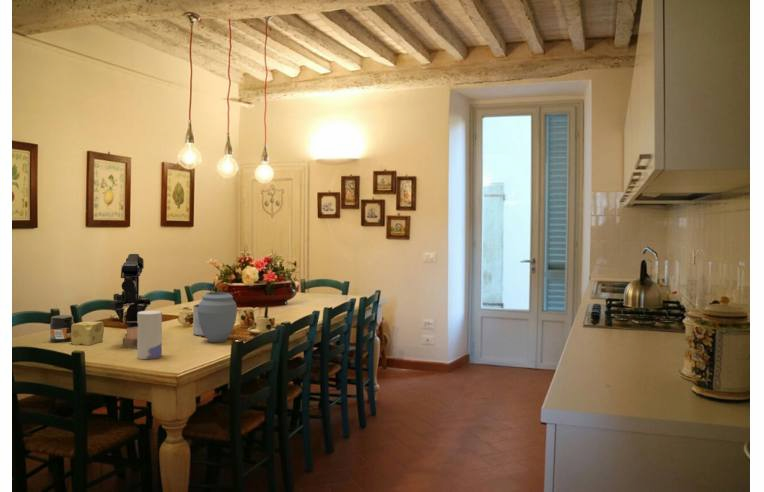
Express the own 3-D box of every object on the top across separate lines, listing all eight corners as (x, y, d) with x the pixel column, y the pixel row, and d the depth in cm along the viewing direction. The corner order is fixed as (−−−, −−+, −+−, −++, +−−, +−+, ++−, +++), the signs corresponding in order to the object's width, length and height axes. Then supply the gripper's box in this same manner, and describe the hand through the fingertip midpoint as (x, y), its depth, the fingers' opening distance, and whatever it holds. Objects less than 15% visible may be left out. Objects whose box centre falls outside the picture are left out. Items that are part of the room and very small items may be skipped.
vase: (244, 339, 295) (245, 292, 294) (222, 346, 276) (222, 296, 275) (212, 336, 301) (213, 290, 300) (188, 342, 283) (189, 294, 282)
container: (141, 354, 257) (141, 310, 256) (164, 354, 258) (164, 310, 257) (133, 359, 247) (134, 313, 246) (157, 359, 248) (157, 313, 247)
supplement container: (57, 343, 275) (57, 319, 274) (45, 340, 280) (45, 316, 280) (78, 340, 284) (78, 316, 283) (67, 337, 289) (67, 314, 289)
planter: (186, 335, 302) (186, 306, 301) (206, 330, 317) (206, 302, 316) (210, 338, 296) (211, 308, 295) (230, 332, 311) (230, 304, 310)
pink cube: (136, 336, 276) (136, 326, 276) (142, 338, 273) (142, 327, 273) (126, 338, 272) (126, 327, 272) (132, 339, 269) (132, 329, 269)
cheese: (89, 345, 272) (89, 325, 272) (69, 344, 274) (69, 323, 274) (104, 341, 282) (104, 321, 282) (85, 340, 284) (85, 320, 284)
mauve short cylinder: (139, 344, 278) (139, 335, 278) (146, 347, 273) (146, 338, 273) (122, 346, 273) (122, 337, 273) (129, 349, 267) (129, 340, 267)
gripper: (138, 285, 287) (137, 316, 288) (102, 289, 272) (102, 321, 273) (151, 287, 281) (151, 319, 282) (115, 291, 266) (115, 324, 266)
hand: (130, 321), depth 276 cm, fingers open, 9 cm apart
